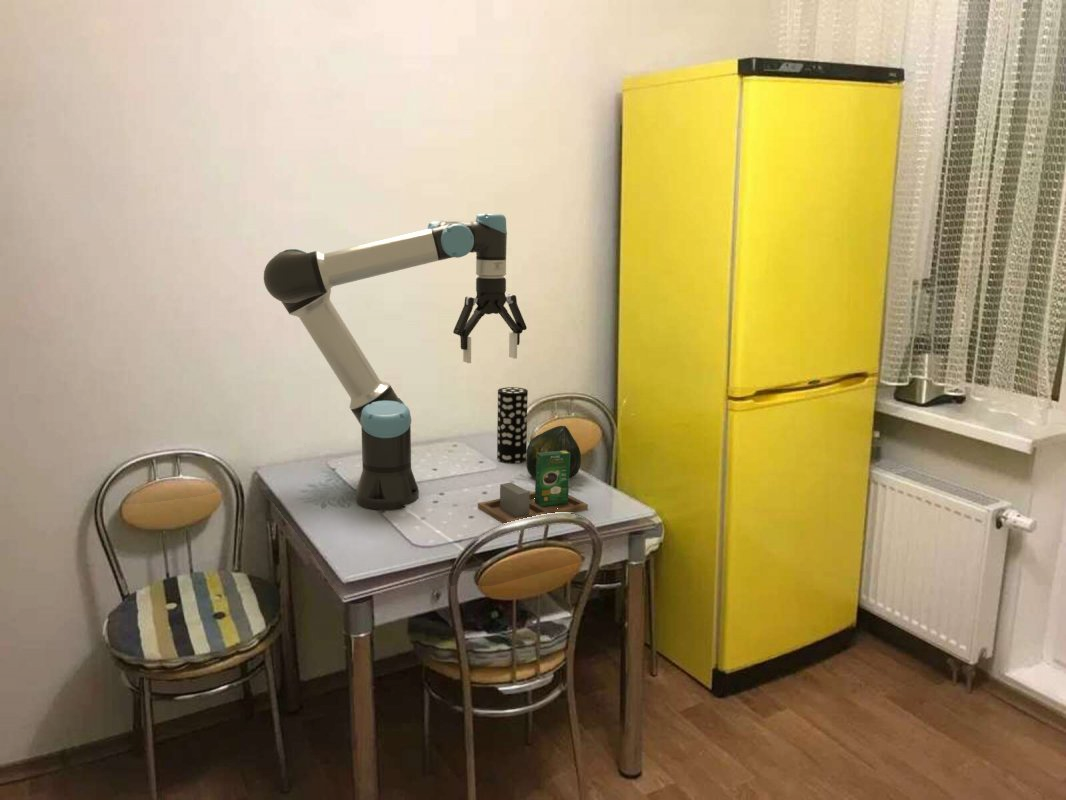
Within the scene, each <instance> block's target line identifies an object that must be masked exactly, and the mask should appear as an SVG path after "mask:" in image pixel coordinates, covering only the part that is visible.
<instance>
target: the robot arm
mask: <svg viewBox="0 0 1066 800" xmlns="http://www.w3.org/2000/svg"><path fill="white" fill-rule="evenodd" d="M507 235H508V232H507V217H506V216H505V215H504V214H501V213H478V214H477V215H476V218H475V221H450V220H448V221H446V220H438V221H430V222H429V223H428V224H427V229H424V230H419V231H416V232H412V233H407V234H402V235H399V236H394V237H390V238H385V239H381V240H377V241H373V242H369V243H365V244H360V245H355V246H351V247H347V248H344V249H339V250H335V251H331V252H326V253H322V252H320V251H318V250H315V251H310V252H306V251H303V250H301V249H297V248H295V249H294V248H291V249H290V248H289V249H285V250H283V251H280V252H278V253H277V254H276V255H274V256H273V257H272V258H271V259H270V260H269V261H268V262H267V264H266V266H265V267H264V270H263V284H264V285H265V289H266V290H267V292H268V293H269V294H270V295H271V296H272V297H273V298H274V299H276V300H277V301H279V302H281V303H282V305H283V307H284V308H285V310H286V311H287V312H288V315H290V316H293V317H298V318H299V320H300V321H301V323H302V324H303V326H304V327H305V329H306V330H307V332H308V334H309V335H310V337H311V339H312V341H314V343H315V345H316V346H317V348H318V349H319V351H320V352H321V354H322V356H323V357H324V359H325V360H326V362H327V364H328V365H329V367H330V368H331V370H332V371H333V373H334V374H335V376H336V378H337V379H338V380H339V382H340V384H341V385H342V387H343V389H344V390H345V391H346V393H347V395H348V396H349V397H350V402H349V403H350V404H349V409H350V411H351V412H352V414H353V415H354V417H355V418H356V420H357V422H358V424H359V425H360V426H361V458H362V470H361V471H362V472H361V474H360V477H359V481H358V484H357V488H356V490H355V502H356V503H357V504H358V505H359V506H361V507H363V508H366V509H369V510H381V511H387V510H388V511H391V510H399V509H403V508H406V506H407V505H410V504H412V503H414V502H416V501H417V500H418V499H419V497H420V496H419V495H420V491H419V487H418V484H417V481H416V478H415V476H414V472H413V470H412V441H411V440H412V439H411V438H412V436H411V435H412V432H411V431H412V430H411V426H412V425H411V424H412V415H411V410H410V409H409V407H408V406H407V405H406V404H405V402H404V401H403V400H401V398H400V397H398V395H397V393H396V392H395V391H394V389H393V387H392V385H391V384H390V382H386V381H382V380H381V379H380V378H379V376H378V374H377V373H376V372H375V369H374V368H373V366H372V365H371V363H370V362H369V360H368V358H367V357H366V355H365V354H364V352H363V351H362V348H361V347H360V345H359V344H358V343H357V341H356V339H355V338H354V336H353V335H352V333H351V332H350V329H349V328H348V327H347V325H346V323H345V322H344V320H343V319H342V317H341V315H340V313H339V312H338V310H337V309H336V308H335V306H334V304H333V303H332V301H331V299H330V298H331V293H332V288H333V287H336V286H339V285H344V284H348V283H352V282H356V281H360V280H365V279H369V278H372V277H377V276H381V275H386V274H388V273H394V272H398V271H401V270H402V271H403V270H405V269H410V268H413V267H418V266H422V265H427V264H430V263H435V262H438V261H443V260H448V259H452V258H453V259H454V258H455V259H456V258H458V259H459V258H463V257H465V256H467V255H468V254H469V253H471V254H472V253H475V254H476V257H475V259H476V261H475V274H476V275H477V277H476V278H475V291H476V296H475V297H471V296H465V298H464V305H463V307H462V309H461V310H462V311H461V312H460V315H459V317H458V319H457V322H456V324H455V326H454V329H453V330H452V332H453V334H455V335H457V336H459V337H460V350H463V351H462V352H463V355H462V356H463V357H462V360H463V361H462V362H463V363H467V364H472V337H471V336H470V335H471V333H472V331H474V329H475V327H476V326H477V324H478V323H479V321H480V320H481V319H482V318H483V317H485V315H492V314H496V315H498V314H499V315H500V317H501V318H502V319H503V321H504V322H505V323H506V324H507V325H508V327H509V328H510V330H511V331H510V332H509V333H508V335H509V336H508V337H509V339H508V341H509V342H508V343H509V345H508V357H509V358H511V359H514V360H515V359H518V346H520V344H521V343H520V342H521V341H520V340H521V339H520V338H521V337H520V335H521V334H522V333H523V331H526V330H527V325H526V322H525V319H524V318H523V315H522V312H521V311H520V307H519V305H518V301H517V295H514V294H511V293H509V294H508V295H506V292H507V278H506V277H504V276H506V275H507V243H508V242H507V239H508V236H507ZM505 304H507V305H508V307H509V310H510V313H511V315H510V314H509V312H508V310H507V308H506V306H505ZM475 305H476V308H475V309H474V306H475ZM473 309H474V310H473ZM472 311H473V313H472ZM471 313H472V315H471Z"/></svg>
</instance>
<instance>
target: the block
mask: <svg viewBox="0 0 1066 800" xmlns="http://www.w3.org/2000/svg"><path fill="white" fill-rule="evenodd" d="M529 496H530V491H528V490H526V489H524V488H522V487H521V486H519V485H517V484H515V483H513V482H505V483H501V484H500V485H499V499H500V509H502V510H503V511H505V512H507V513H508V514H510V515H512V516H514V517H515V518H519V517H523V516H528V515H529Z"/></svg>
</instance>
